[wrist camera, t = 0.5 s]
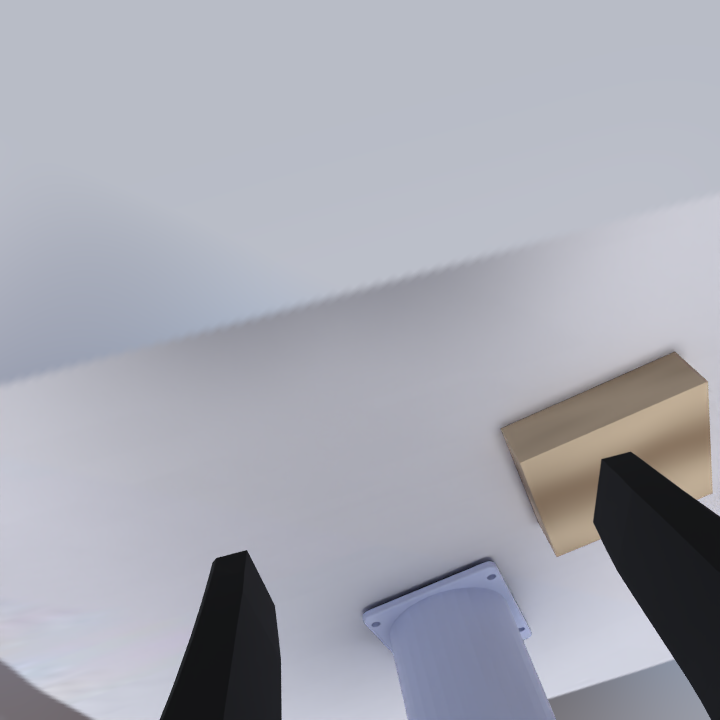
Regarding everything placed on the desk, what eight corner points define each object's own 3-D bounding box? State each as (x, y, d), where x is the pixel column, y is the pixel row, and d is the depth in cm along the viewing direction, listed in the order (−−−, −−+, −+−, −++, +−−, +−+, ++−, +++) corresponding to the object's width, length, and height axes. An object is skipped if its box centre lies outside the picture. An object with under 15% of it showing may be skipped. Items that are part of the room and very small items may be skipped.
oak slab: (679, 455, 29) (712, 493, 27) (535, 516, 30) (556, 556, 28) (668, 346, 24) (707, 381, 22) (497, 422, 25) (519, 462, 23)
